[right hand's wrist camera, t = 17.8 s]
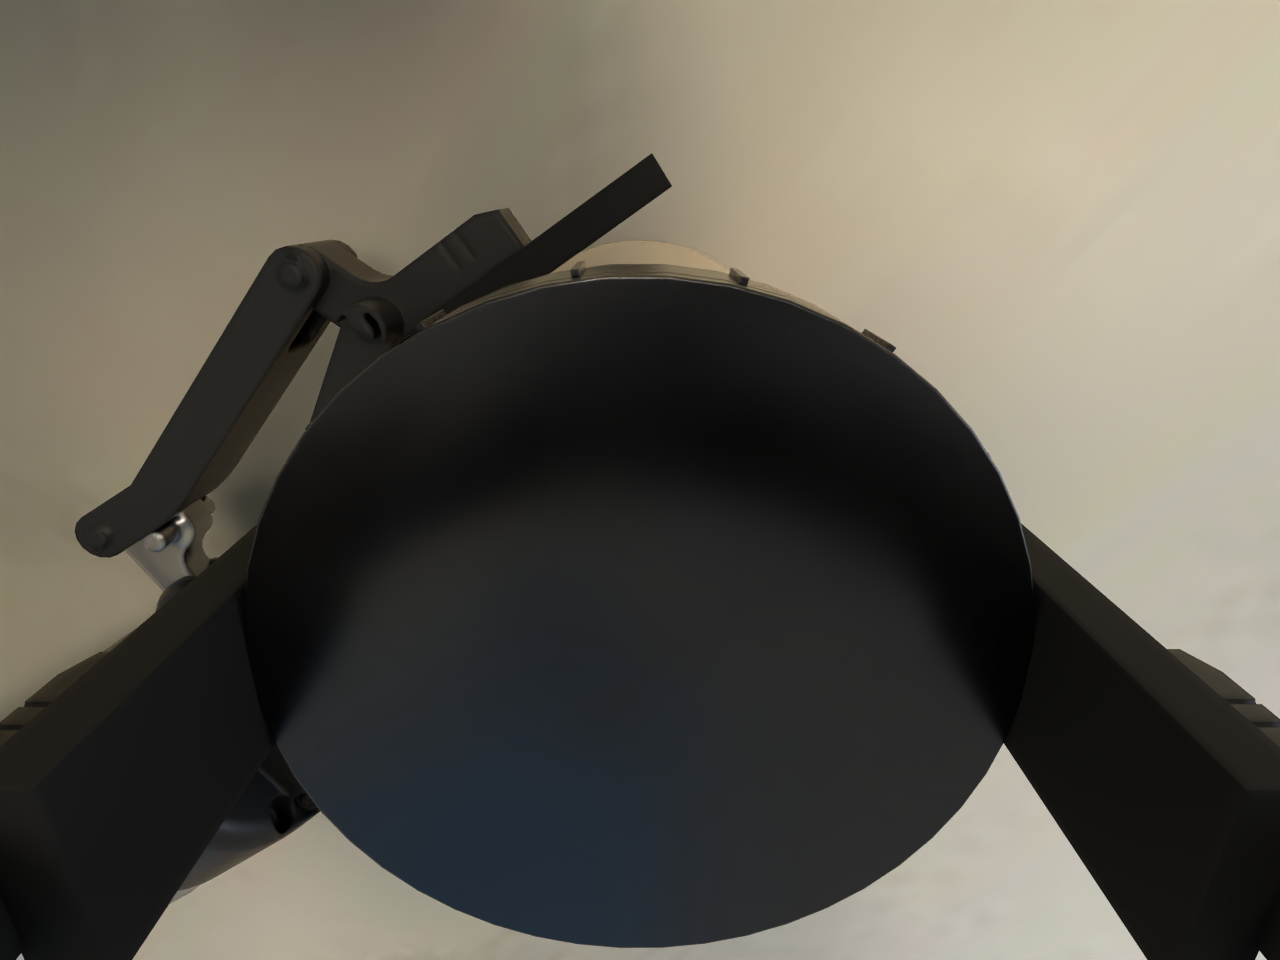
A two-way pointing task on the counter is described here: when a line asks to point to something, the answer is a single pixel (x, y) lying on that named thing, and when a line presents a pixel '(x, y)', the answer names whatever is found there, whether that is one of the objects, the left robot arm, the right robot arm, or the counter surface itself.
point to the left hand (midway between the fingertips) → (782, 371)
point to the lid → (639, 608)
